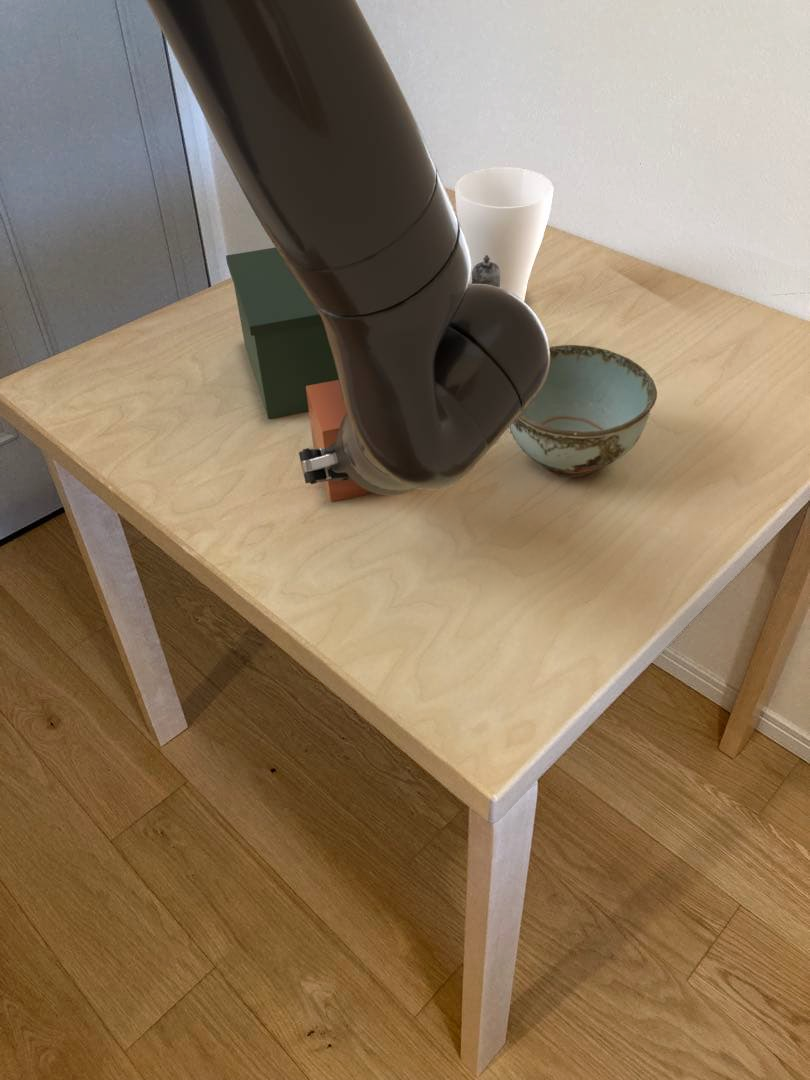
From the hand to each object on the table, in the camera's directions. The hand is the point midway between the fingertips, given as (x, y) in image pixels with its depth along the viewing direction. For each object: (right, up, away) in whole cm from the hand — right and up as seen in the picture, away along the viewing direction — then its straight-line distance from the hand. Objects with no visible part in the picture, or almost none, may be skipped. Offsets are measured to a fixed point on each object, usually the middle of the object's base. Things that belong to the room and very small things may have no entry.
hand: (365, 464), depth 78 cm
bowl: (+19, +1, +6) cm, 20 cm away
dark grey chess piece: (+12, +13, +18) cm, 25 cm away
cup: (+14, +21, +27) cm, 37 cm away
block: (-1, 0, +6) cm, 6 cm away
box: (-6, +12, +18) cm, 22 cm away
